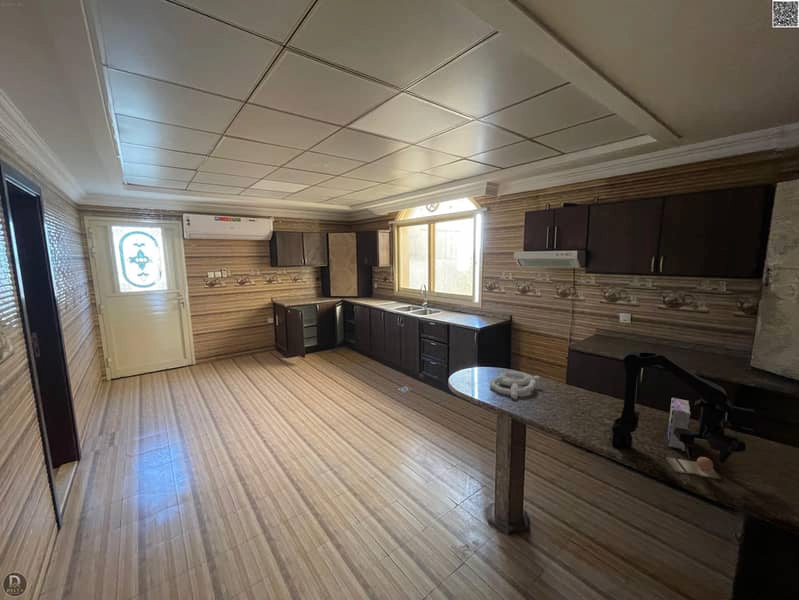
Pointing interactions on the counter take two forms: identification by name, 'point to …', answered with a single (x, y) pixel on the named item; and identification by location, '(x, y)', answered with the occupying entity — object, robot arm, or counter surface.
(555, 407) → the counter surface
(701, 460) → the ball
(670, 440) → the candy box
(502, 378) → the pretzel
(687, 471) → the board
